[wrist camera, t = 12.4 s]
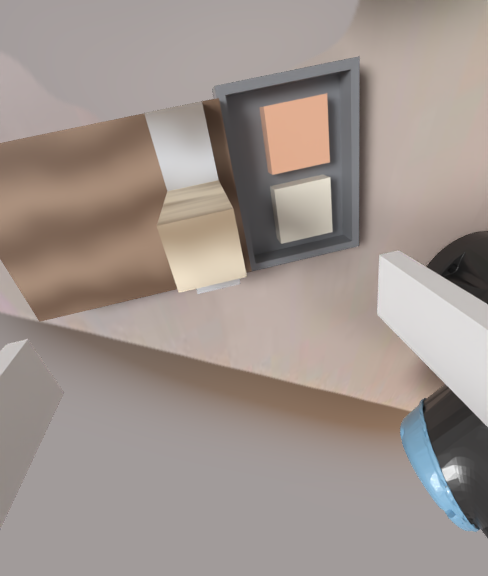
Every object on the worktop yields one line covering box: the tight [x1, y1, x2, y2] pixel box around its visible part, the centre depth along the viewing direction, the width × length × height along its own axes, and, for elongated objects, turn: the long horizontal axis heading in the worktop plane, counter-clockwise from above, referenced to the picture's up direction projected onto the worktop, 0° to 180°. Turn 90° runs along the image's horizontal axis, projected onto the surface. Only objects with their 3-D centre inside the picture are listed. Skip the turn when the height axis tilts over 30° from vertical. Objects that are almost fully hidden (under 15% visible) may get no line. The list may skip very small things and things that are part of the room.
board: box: [0, 98, 252, 321], centre depth 31 cm, size 16×22×5 cm
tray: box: [212, 56, 360, 271], centre depth 32 cm, size 18×13×3 cm
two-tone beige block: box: [144, 101, 247, 294], centre depth 24 cm, size 16×4×12 cm, turn 10°
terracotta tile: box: [259, 93, 330, 175], centre depth 30 cm, size 6×6×2 cm
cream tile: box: [270, 175, 333, 244], centre depth 34 cm, size 6×6×2 cm
